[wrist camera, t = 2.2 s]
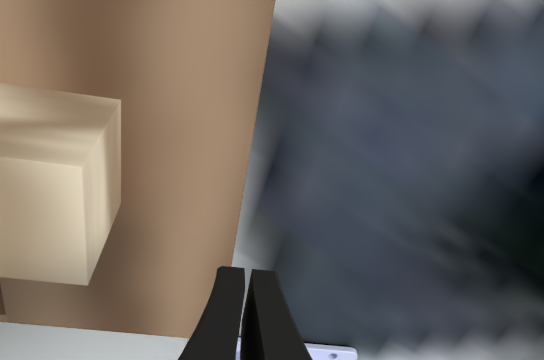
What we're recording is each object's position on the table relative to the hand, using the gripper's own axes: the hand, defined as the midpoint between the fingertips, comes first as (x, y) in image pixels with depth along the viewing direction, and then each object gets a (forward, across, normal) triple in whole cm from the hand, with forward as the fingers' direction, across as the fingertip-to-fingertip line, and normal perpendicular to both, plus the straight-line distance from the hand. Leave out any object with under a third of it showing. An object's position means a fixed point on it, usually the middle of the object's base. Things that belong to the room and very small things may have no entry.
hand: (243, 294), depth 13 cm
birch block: (+6, +7, 0) cm, 9 cm away
